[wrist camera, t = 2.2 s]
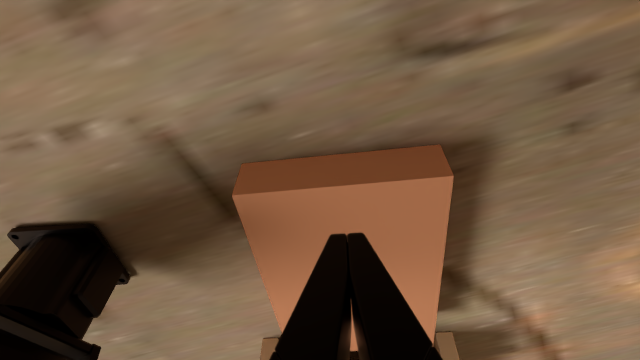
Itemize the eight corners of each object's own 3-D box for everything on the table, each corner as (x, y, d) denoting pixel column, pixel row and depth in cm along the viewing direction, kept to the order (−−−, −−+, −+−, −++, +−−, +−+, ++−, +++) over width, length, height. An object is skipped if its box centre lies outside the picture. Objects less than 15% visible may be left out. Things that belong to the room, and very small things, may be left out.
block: (292, 316, 34) (289, 354, 32) (243, 159, 23) (231, 195, 20) (424, 309, 33) (432, 347, 30) (438, 140, 22) (453, 175, 19)
